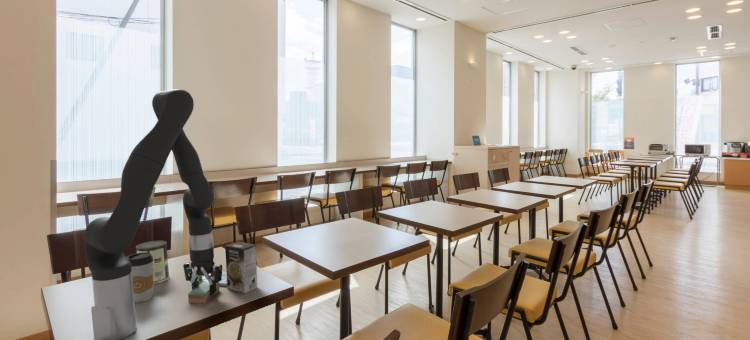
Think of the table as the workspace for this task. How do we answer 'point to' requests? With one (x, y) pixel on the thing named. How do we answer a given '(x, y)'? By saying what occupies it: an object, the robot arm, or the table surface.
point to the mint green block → (201, 293)
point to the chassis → (202, 279)
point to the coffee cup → (142, 275)
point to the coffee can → (157, 259)
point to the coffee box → (241, 266)
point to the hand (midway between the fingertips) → (204, 293)
